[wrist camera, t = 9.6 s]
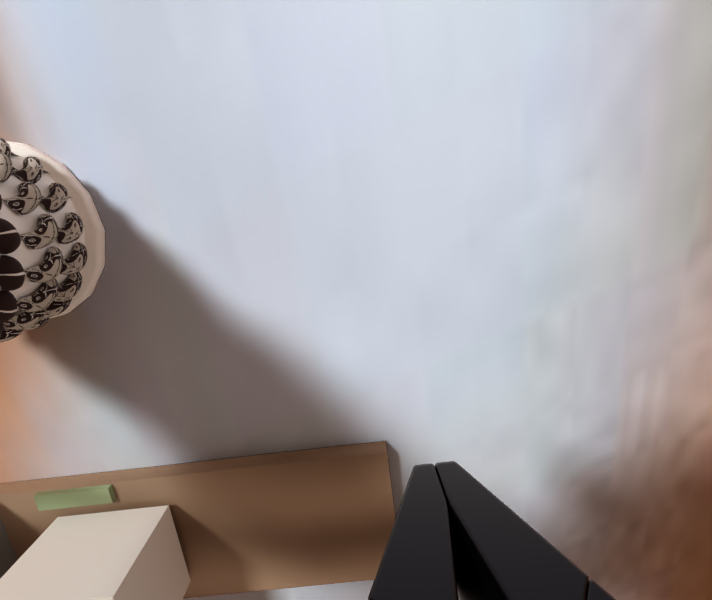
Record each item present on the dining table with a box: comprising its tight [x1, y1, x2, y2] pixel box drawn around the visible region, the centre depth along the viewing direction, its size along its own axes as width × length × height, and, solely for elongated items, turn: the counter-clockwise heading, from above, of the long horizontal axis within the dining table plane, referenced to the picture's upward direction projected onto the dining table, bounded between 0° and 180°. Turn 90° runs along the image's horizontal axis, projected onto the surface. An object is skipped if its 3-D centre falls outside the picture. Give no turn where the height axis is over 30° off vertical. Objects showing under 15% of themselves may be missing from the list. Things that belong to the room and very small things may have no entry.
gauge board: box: [0, 441, 395, 598], centre depth 20 cm, size 9×24×7 cm, turn 97°
